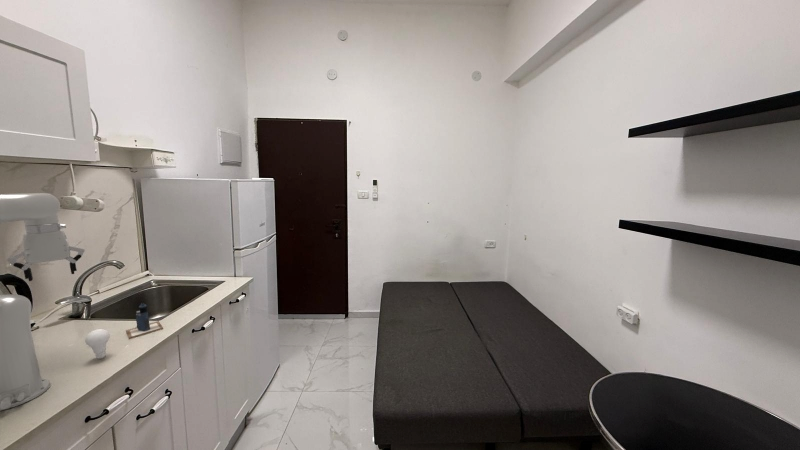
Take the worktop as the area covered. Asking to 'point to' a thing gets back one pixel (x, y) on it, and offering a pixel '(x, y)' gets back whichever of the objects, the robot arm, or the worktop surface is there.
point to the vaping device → (142, 318)
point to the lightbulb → (98, 342)
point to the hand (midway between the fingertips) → (52, 276)
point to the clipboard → (135, 332)
